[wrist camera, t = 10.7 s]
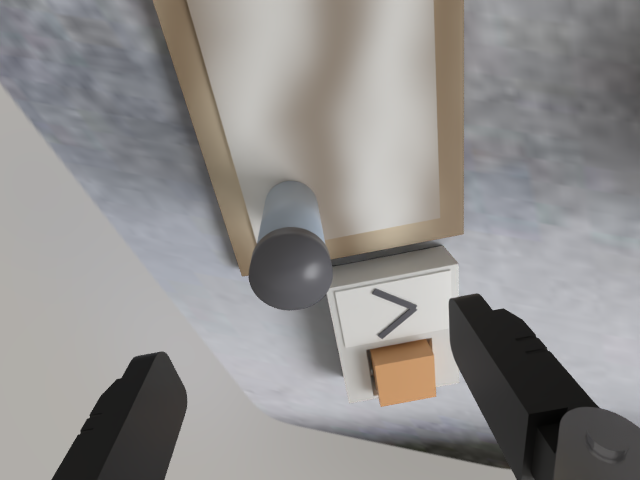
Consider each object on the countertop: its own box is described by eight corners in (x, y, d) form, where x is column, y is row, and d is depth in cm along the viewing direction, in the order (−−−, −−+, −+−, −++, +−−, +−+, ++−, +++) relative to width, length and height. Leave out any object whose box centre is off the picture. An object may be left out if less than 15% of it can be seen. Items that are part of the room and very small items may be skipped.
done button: (424, 335, 24) (434, 354, 23) (426, 375, 26) (436, 396, 24) (369, 346, 24) (374, 366, 23) (375, 385, 26) (380, 406, 24)
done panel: (443, 245, 23) (460, 265, 21) (446, 358, 28) (460, 385, 25) (322, 268, 23) (326, 291, 21) (344, 377, 28) (349, 405, 26)
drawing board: (455, -190, 15) (466, -207, 14) (458, 229, 23) (464, 235, 22) (119, -121, 15) (108, -133, 14) (243, 269, 23) (241, 278, 22)
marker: (313, 173, 20) (325, 230, 13) (323, 226, 21) (339, 302, 14) (256, 185, 20) (238, 247, 13) (270, 236, 21) (260, 316, 14)
